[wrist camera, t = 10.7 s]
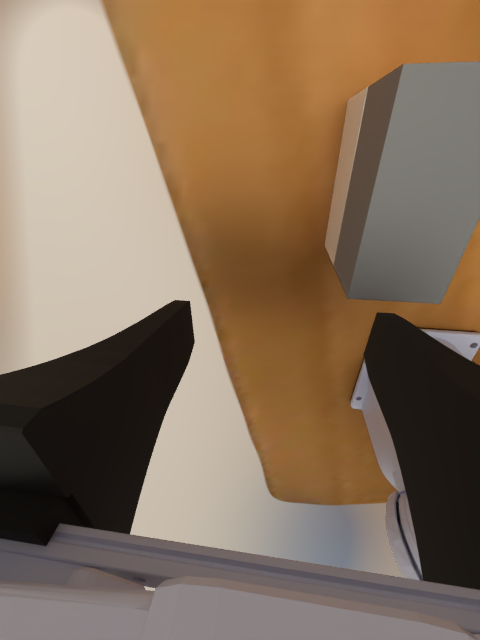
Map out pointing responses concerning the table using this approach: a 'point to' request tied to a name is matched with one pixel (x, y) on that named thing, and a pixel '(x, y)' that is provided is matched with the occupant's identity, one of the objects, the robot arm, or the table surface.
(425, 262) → the charcoal brick
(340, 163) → the off-white brick
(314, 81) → the table surface
